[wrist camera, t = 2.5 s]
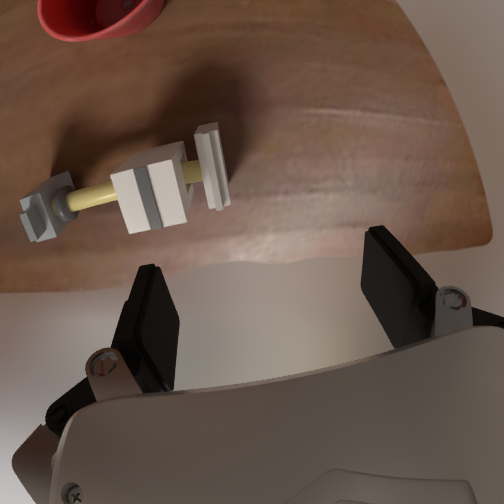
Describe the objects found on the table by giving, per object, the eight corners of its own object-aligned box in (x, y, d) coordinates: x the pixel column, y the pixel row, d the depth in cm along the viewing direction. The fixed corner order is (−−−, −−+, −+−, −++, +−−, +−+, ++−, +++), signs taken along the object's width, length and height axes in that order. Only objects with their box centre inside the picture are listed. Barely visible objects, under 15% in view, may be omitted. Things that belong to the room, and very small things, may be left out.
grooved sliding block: (183, 140, 27) (171, 160, 20) (193, 189, 30) (186, 223, 23) (135, 152, 27) (109, 175, 20) (147, 199, 29) (128, 234, 23)
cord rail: (217, 121, 28) (216, 135, 21) (228, 183, 32) (232, 219, 24) (47, 169, 28) (6, 199, 20) (65, 220, 32) (32, 260, 24)
